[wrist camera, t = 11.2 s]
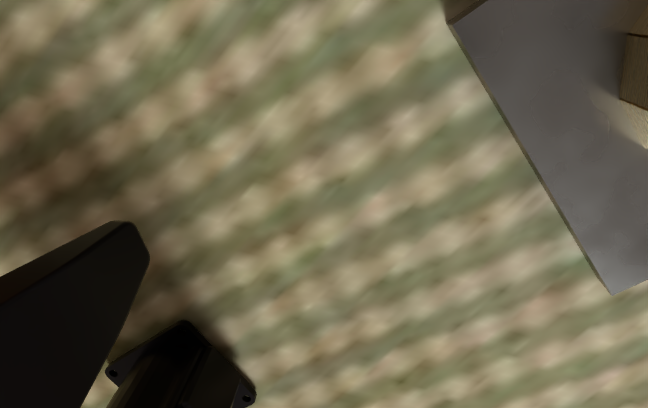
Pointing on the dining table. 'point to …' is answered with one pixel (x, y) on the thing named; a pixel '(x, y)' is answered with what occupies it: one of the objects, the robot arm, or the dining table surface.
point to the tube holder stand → (575, 114)
